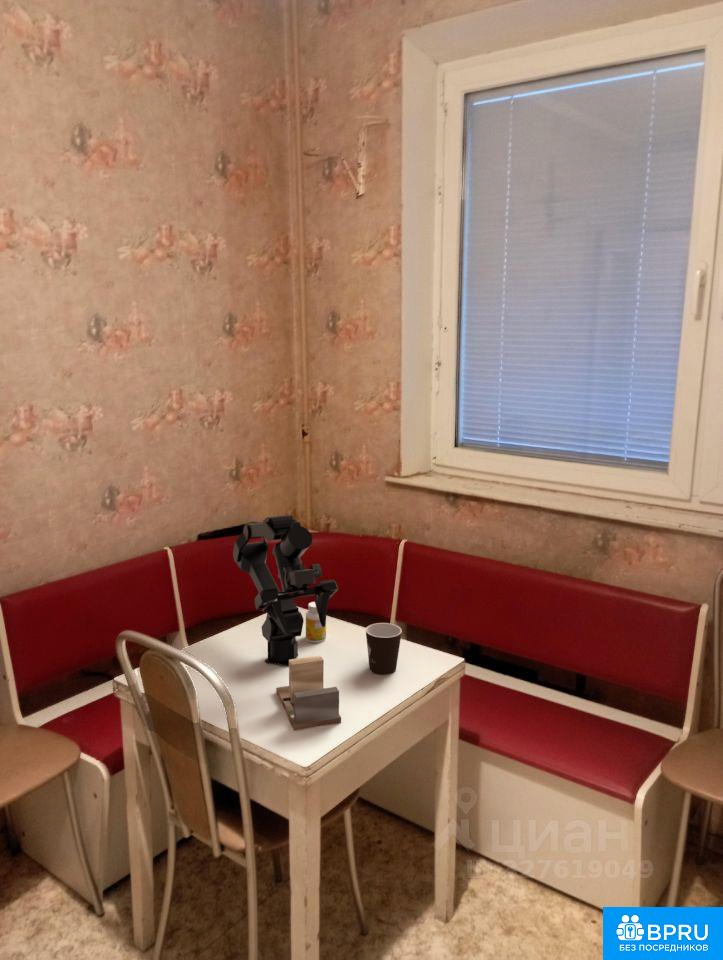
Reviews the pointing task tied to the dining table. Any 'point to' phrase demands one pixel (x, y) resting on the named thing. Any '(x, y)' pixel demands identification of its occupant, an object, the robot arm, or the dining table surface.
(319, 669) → the pad
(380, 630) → the coffee mug
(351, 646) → the dining table surface
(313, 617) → the supplement bottle
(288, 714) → the gauge track
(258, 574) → the robot arm
